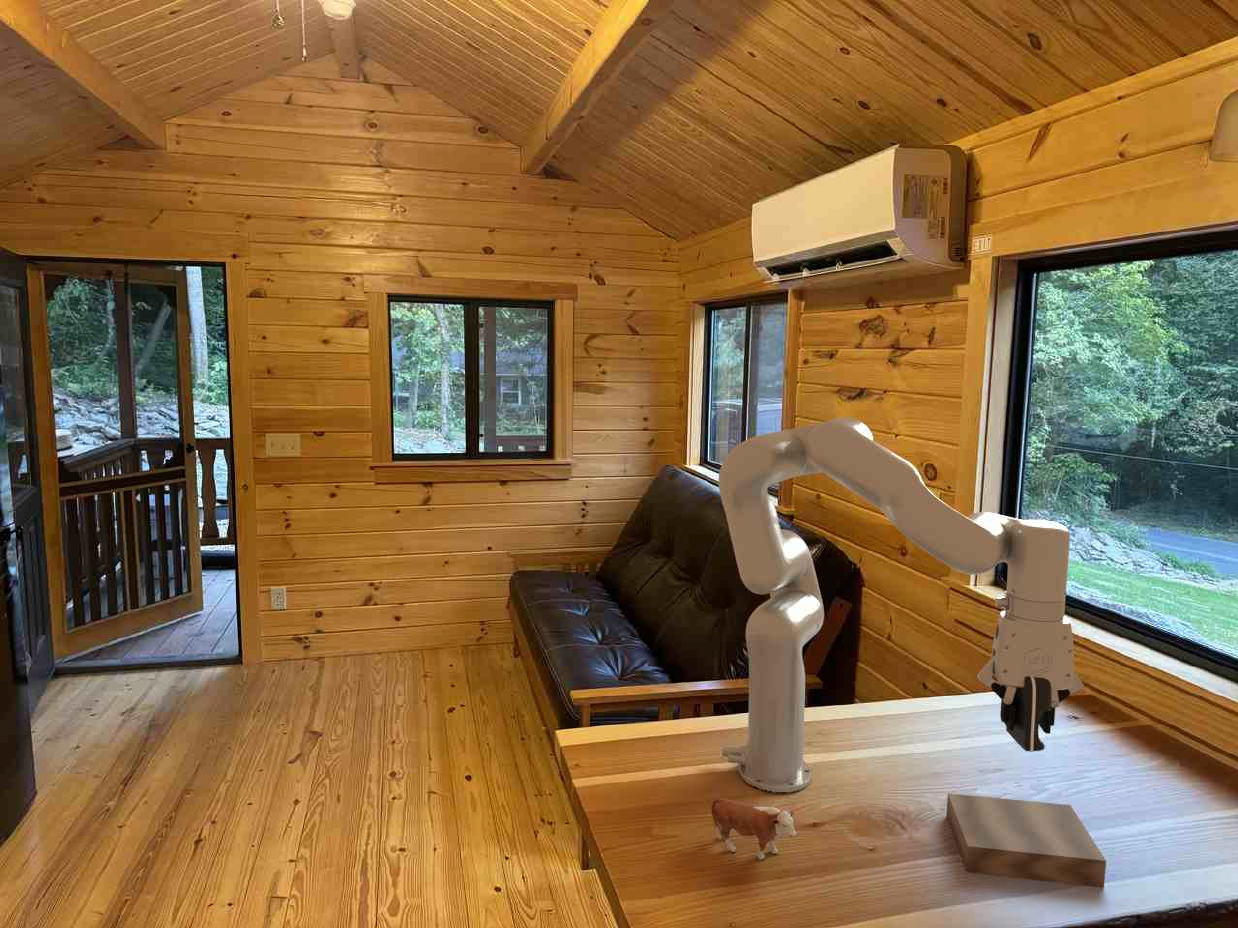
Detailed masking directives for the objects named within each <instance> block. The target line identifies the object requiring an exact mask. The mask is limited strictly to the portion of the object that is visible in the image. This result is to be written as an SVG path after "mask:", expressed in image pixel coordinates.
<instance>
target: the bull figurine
mask: <svg viewBox="0 0 1238 928" xmlns="http://www.w3.org/2000/svg"><path fill="white" fill-rule="evenodd" d="M710 807H711V808H710V809H711V816H712V819H713V822H714V829H715V833H716V836H717V837H718V839H719V840H722V839H723V840H724V841H725V843H726V845H725V846H726V849H727V848H728V850H729V849H730V850H731V851H733V850H734V851H735V849H736V846H735V845H734V844H733V842H732V841H731V838H730V834H731V833H730V832H731V830H732V829H733V830H735V831H736V832H737V833H738V834H739V835H741V836H742V837H743V838H745V837H750V838H751V837H753V838H757V840H758V851H757V853H756V857H758V860H759V859H764V858H765V859H766V857H765V855H764V850H765V849H766V846H767V844H769V849H768V850H769V851H770V852H771V854H772V853H773V854H772V855H774V854H777V855H779V854H778V853H780V852H779V850H778V849H777V848H776V846H775V842H777V841H778V840H780V839H781V838H783V836H785V837H786V836H787V838H789V839H792V838H795V837H797V831H796V830H795V827H794V820H793V815H794V811H795V810H791V811H790V812H788V811H786V810H785V811H781V810H780V809H778V808H776V807H773V806H771V807H767V806H757V805H756V806H755V805H751V804H747V803H743V802H740V801H737V800H732V799H727V798H720V797H718V798H715V799H714V800H713V801H712V803H711V806H710ZM730 850H729V851H730Z"/></svg>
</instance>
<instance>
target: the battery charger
mask: <svg viewBox="0 0 1238 928" xmlns="http://www.w3.org/2000/svg"><path fill="white" fill-rule="evenodd" d="M1013 702H1014V704H1015V705H1016V714H1015V729H1014V730H1013V731H1009V730H1008V728H1007V727H1006V726H1005V729H1006V732H1007V733H1008V734H1009V735H1010V736H1011V738H1012V739H1013V740H1014V741H1015V742H1016V744H1018V745H1019V746H1020V747H1021V748H1022V749H1023V750H1024V751H1026V752H1029V753H1033V752H1040V751H1044V750H1045V746H1046V745H1045V743H1044V742H1043V741H1042V740H1041V739H1040V735H1039V727H1040V726H1039V719H1040V718H1041V716H1042V715H1043V712H1046V711H1050V710H1051V703H1052V694H1051V684H1050V681H1049V680H1047V679H1045V678H1039V677H1033V676H1030V677H1029V676H1026V677H1025V679H1024V687H1023V688H1018V687H1017V688H1016V691H1015V694H1014V697H1013Z"/></svg>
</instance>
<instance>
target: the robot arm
mask: <svg viewBox="0 0 1238 928" xmlns="http://www.w3.org/2000/svg"><path fill="white" fill-rule="evenodd" d="M818 473H822V474H824V475H826V476H827V477H829V478H830V479H832V480H833V481H835V482H837V484H840V485H841V486H843V487H844V488H846V489H848V490H849V491H851V492H852V493H853V494H855V495H857V496H858V497H859V498H861V499H863V500H864V501H866V502H868V503H869V504H871V505H872V506H874V507H875V508H876V509H878V510H880V512H881V513H883V514H884V516H885V517H886V519H888V520H889V522H890V523H892V525H894V526H895V527H896V528H897V529H898V531H900V533H902V535H904V537H906V538H907V539H908V540H910V542H912V543H913V544H914V545H916V547H918V548H920V549H921V550H923V552H926V553H927V554H929V555H930V556H932V557H933V558H935V559H936V560H938V561H940V562H941V563H943V564H944V565H946V566H948V567H949V568H951V569H953V570H955V571H957V572H960V573H961V574H965V575H970V576H971V575H972V576H981V575H984V574H986V573H987V574H988V573H989V572H990V571H992V570H994V569H995V567H996V566H997V565H998V564H999V563H1006V564H1007V579H1006V581H1007V582H1006V591H1004V594H1003V596H1000V597H995V599H994V604H995V605H994V606H995V607H997V608H998V607H1000V608H1002V609H1004V610H1001V611H1000V613H999V617H998V619H997V623H996V627H995V631H994V634H993V635H994V636H993V641H992V647H991V655H990V656H991V657H990V659H989V661H987V662H986V664H985V665H984V666H983V668H982V669H980V671H979V672H978V673H977V674H976V677H977V679H978V681H979V682H980V683H982V684H983V685H985V687H988V688H989V689H991V690H992V692H994V693H995V695H997V696H998V697H999V698H1000V699H1001V700H1000V712H999V713H1000V717H999V718H1000V721H1001V722H1002V723H1004V725H1005V728H1006V727H1007V728H1008V730H1009V731H1013V730H1014V729H1015V714H1016V705H1015V704H1014V702H1013V697H1014V694H1015V691H1016V688H1017V687H1018V688H1023V687H1024V679H1025V677H1026V676H1029V677H1030V676H1033V677H1039V678H1045V679H1047V680H1049V681H1050V684H1051V694H1052V703H1051V710H1050V711H1046V712H1043V715H1042V716H1041V718H1040V719H1039V727H1040V728H1041V730H1042V731H1043V733H1045V734H1046V735H1047V734H1049V735H1050V734H1051V729H1052V728H1051V727H1053V726H1055V720H1056V719H1055V718H1056V708H1058V707H1059V706H1060V703H1061V702H1062V701H1064V700H1065V699H1067V698H1068V697H1070V696H1071V694H1075V693H1076V692H1078V691H1080V690H1082V689H1083V688H1085V686H1084V683H1083V682H1082V679H1080V677H1079V675H1078V674H1077V672H1076V671H1075V654H1074V638H1073V637H1074V636H1073V635H1074V634H1073V628H1072V623H1071V622H1072V621H1071V620H1070V619H1069V618H1067V617H1066V616H1065V610H1066V595H1067V581H1068V569H1069V556H1070V543H1071V540H1070V539H1071V538H1070V537H1071V536H1070V532H1069V530H1068V528H1067V527H1066V526H1065V525H1063V524H1061V523H1058V522H1056V521H1049V520H1043V519H1042V520H1041V519H1040V520H1039V519H1019V518H1016V517H1015V518H1014V517H1010V516H1006V515H1004V514H1003V515H1001V514H998V513H994V512H988V511H980V512H978V511H977V512H975V513H971V514H970V515H968V516H966V515H964V514H962V513H961V512H959V511H958V510H955V509H954V508H952V506H949V505H948V504H946V503H945V502H944V501H942V500H941V499H940V498H938V497H937V496H936V495H935V494H934V493H933V492H931V491H930V489H929V488H928V487H927V486H926V484H925V483H924V481H923V479H922V477H921V475H920V473H919V471H918V469H917V468H916V467H915V466H914V465H913V464H912V463H911V462H910V461H908V460H906V459H904V457H901V456H900V455H898V454H896V453H894V452H893V451H891V450H889V449H888V448H886V447H884V446H883V445H881V444H879V443H878V442H877V441H874V437H873V434H872V432H871V430H870V428H869V427H868V426H867V425H866V424H865V423H863V422H862V421H860V420H859V419H856V418H853V417H848V416H847V417H846V416H844V417H838V418H833V419H829V420H826V421H823V422H820V423H815V424H810V425H804V426H800V427H796V428H795V427H794V428H790V429H785V430H779V431H775V432H770V433H764V434H760V435H756V436H753V437H751V438H748V439H746V440H744V441H742V442H740V443H739V444H737V445H736V446H735V447H733V448H732V449H731V451H730V452H729V453H728V454H727V455H726V457H725V458H724V460H723V462H722V464H721V466H720V469H719V474H718V490H719V494H720V498H721V501H722V502H721V503H722V506H723V509H724V512H725V516H726V520H727V523H728V530H729V534H730V538H731V539H730V540H731V542H732V548H733V552H734V555H735V560H736V564H737V568H738V572H739V577H740V579H741V581H742V583H743V585H744V586H745V588H747V589H748V590H749V591H750V592H752V593H753V594H756V595H768V594H769V595H770V598H769V599H767V600H766V601H765V602H762V604H760V605H759V606H757V607H756V608H755V610H754V611H753V612H752V613H751V614H750V616H749V618H748V620H747V622H746V627H745V641H746V649H747V654H748V655H747V656H748V674H749V675H748V722H747V724H748V725H747V728H748V729H747V730H748V731H747V740H746V741H745V742H746V743H745V745H743V744H742V745H741V744H740V746H733V745H725V744H723V745H722V749H721V751H722V752H721V756H722V757H724V758H727V759H728V761H727V763H729V764H738V774H739V773H740V774H739V776H740V775H741V776H742V778H743V779H744V780H745V781H746V782H748V783H749V784H751V785H752V786H751V785H750V786H751V787H753V786H755V787H757V788H759V789H758V790H761V789H763V790H762V791H764V790H767V791H766V792H769V791H772V792H771V793H776V792H787V793H793V791H794V792H798V791H800V790H803V789H805V788H806V787H807V786H808V785H809V784H810V783H811V781H812V776H813V775H812V769H811V767H810V765H809V764H808V763H807V762H806V761H804V736H805V733H804V732H805V706H806V705H805V704H806V703H805V702H806V672H805V671H806V670H805V666H804V665H805V664H804V660H803V647H804V646H805V645H806V644H807V643H808V642H809V641H810V640H811V639H812V638H814V636H815V635H817V634H818V633H819V631H820V630H821V629H822V626H823V625H824V620H825V609H824V603H823V598H822V595H821V590H820V587H819V582H818V577H817V573H816V569H815V565H814V561H813V557H812V554H811V552H810V551H811V550H809V547H808V545H807V543H806V542H805V541H804V540H803V538H802V537H801V536H799V535H798V534H797V533H795V532H794V531H792V530H789V529H784V528H783V529H782V528H781V526H780V524H779V517H778V513H777V509H776V507H775V504H774V502H773V500H772V499H771V496H770V495H769V492H768V489H769V487H770V486H773V485H774V484H777V483H781V482H784V481H787V480H789V479H792V478H797V477H802V476H807V475H812V474H818ZM994 674H995V675H994ZM993 675H994V676H995V678H996V679H994V678H993ZM741 776H740V777H741ZM742 778H741V779H742ZM743 779H742V780H743ZM744 780H743V781H744ZM745 781H744V782H745ZM746 782H745V783H746ZM748 783H747V784H748ZM749 784H748V785H749ZM755 787H754V788H755ZM757 788H756V789H757ZM797 790H798V791H797Z"/></svg>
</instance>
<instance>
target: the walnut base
mask: <svg viewBox="0 0 1238 928" xmlns="http://www.w3.org/2000/svg"><path fill="white" fill-rule="evenodd" d="M946 797H947V800H946V812H945V813H946V814H945V815H946V817H945V818H946V819H947V822H948V824H949V827H950V830H951V831H950V832H951V833H952V835H953V839H954V842H955V844H956V848H957V850H958V852H959V853H958V854H959V855H960V858H961V861H962V864H963V867H964V869H965V871H966V873H974V874H980V875H981V874H983V875H990V876H991V875H992V876H998V877H999V876H1001V877H1009V878H1017V879H1027V880H1035V881H1044V882H1051V883H1052V882H1053V883H1061V884H1073V885H1081V886H1089V887H1090V886H1091V887H1097V888H1098V887H1099V888H1105V879H1106V877H1105V876H1106V868H1107V860H1106V858H1105V856H1104V855H1103V854H1102V852H1101V851H1100V849H1099V848H1098V846H1097V844H1096V843H1095V841H1094V839H1093V838H1092V836H1091V835H1090V833H1089V831H1088V830H1087V828H1086V827H1085V825H1084V823H1083V822H1082V821H1081V819H1080V818H1079V816H1078V814H1077V813H1076V811H1075V810H1074V808H1073V807H1072V805H1071V804H1065V803H1064V804H1063V803H1055V802H1054V803H1052V802H1041V801H1032V800H1019V799H1011V798H1010V799H1009V798H999V797H988V796H978V795H969V794H958V793H947V796H946Z"/></svg>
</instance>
